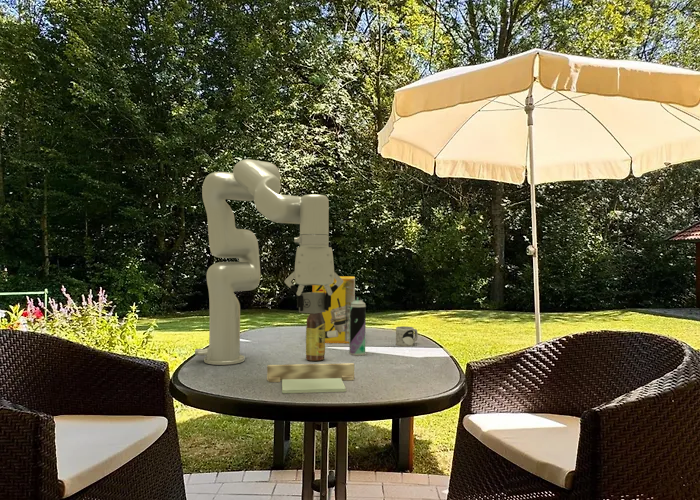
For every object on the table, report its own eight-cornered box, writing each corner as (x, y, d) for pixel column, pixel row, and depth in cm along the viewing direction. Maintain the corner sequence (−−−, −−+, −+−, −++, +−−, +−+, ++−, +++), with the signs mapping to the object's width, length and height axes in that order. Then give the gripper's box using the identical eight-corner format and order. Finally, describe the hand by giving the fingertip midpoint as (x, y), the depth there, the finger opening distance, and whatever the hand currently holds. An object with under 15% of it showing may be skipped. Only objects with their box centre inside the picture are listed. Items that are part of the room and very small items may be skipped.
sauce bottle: (322, 362, 170) (322, 299, 170) (303, 361, 172) (303, 299, 172) (327, 358, 177) (327, 298, 177) (308, 357, 178) (309, 297, 178)
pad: (282, 393, 133) (282, 390, 133) (281, 382, 144) (282, 379, 144) (346, 391, 135) (346, 388, 135) (340, 381, 146) (341, 378, 146)
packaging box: (354, 343, 205) (354, 278, 205) (311, 343, 205) (312, 278, 205) (354, 336, 221) (354, 276, 221) (315, 336, 221) (315, 276, 221)
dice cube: (314, 313, 137) (314, 294, 137) (298, 312, 139) (298, 293, 139) (325, 311, 141) (325, 292, 141) (309, 310, 143) (309, 292, 143)
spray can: (353, 356, 180) (354, 297, 180) (346, 353, 185) (347, 295, 185) (368, 354, 183) (368, 296, 183) (360, 352, 188) (361, 295, 188)
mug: (404, 347, 198) (404, 329, 198) (392, 344, 203) (392, 327, 203) (423, 344, 204) (423, 327, 204) (410, 342, 210) (410, 325, 210)
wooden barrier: (267, 382, 144) (267, 367, 144) (267, 377, 149) (267, 363, 149) (355, 380, 147) (355, 365, 147) (352, 376, 152) (352, 361, 152)
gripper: (281, 241, 135) (281, 312, 135) (348, 241, 138) (348, 311, 138) (280, 242, 143) (280, 309, 143) (344, 242, 145) (344, 308, 145)
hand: (314, 309), depth 140 cm, fingers closed on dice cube, 6 cm apart
